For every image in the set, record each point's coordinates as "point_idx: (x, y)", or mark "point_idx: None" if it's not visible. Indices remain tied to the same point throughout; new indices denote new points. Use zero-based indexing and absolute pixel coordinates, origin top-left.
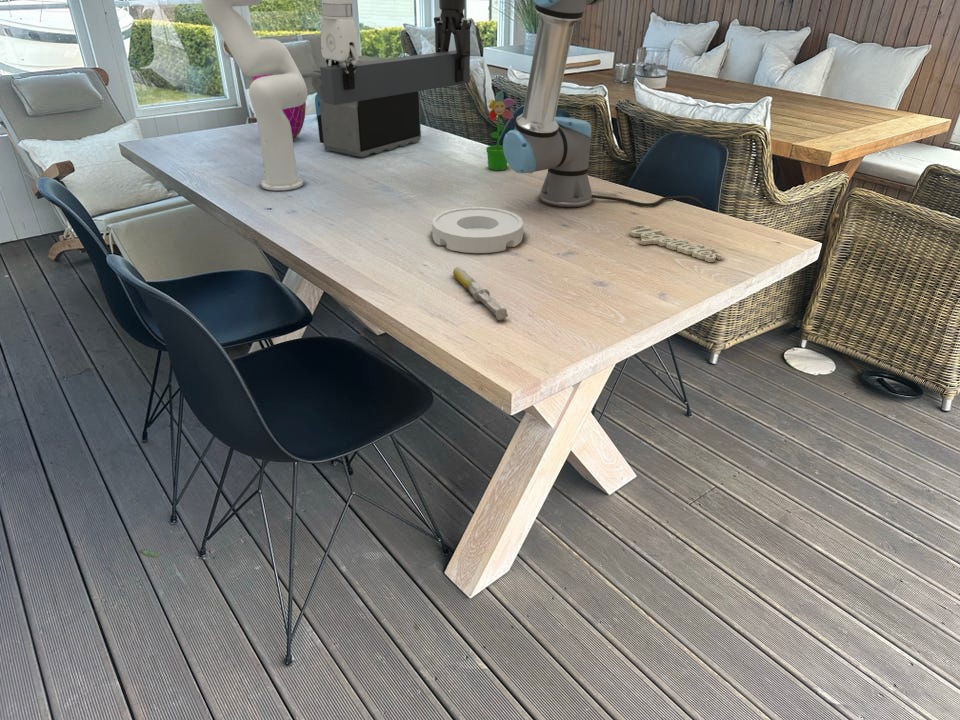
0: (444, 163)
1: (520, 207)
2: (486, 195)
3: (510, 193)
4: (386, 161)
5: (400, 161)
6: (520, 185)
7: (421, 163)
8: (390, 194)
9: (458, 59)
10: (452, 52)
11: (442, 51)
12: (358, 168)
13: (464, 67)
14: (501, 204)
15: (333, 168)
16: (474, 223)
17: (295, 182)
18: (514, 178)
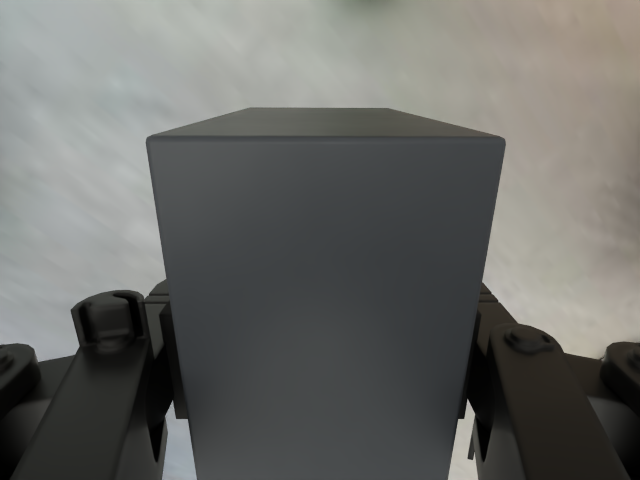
0: (187, 58)
1: (636, 232)
2: (512, 219)
3: (558, 161)
4: (55, 183)
5: (79, 151)
6: (544, 74)
7: (140, 118)
8: None
9: (463, 389)
10: (337, 436)
11: (157, 474)
12: (83, 284)
13: (485, 289)
14: (584, 246)
15: (47, 326)
16: None
17: None
18: (486, 22)
